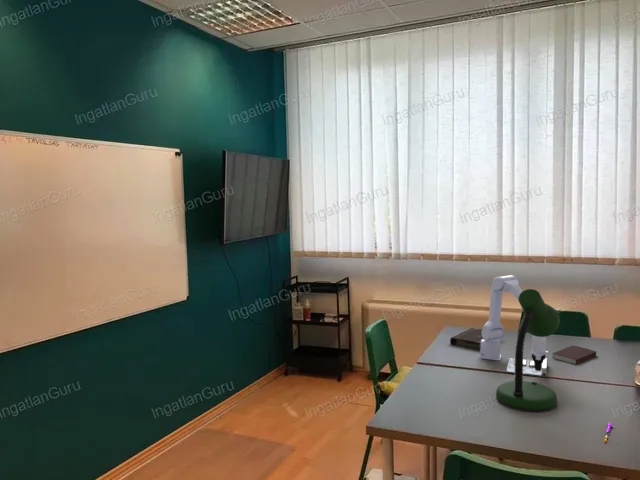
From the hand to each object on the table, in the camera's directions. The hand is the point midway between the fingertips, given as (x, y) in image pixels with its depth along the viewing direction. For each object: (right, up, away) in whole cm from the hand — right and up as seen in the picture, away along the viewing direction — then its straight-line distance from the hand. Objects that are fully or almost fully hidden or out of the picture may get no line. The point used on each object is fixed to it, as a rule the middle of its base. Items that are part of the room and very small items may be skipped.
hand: (538, 370), depth 232 cm
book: (+28, 0, +24) cm, 37 cm away
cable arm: (+6, 0, +6) cm, 8 cm away
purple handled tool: (+2, -9, -55) cm, 55 cm away
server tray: (-1, -2, +10) cm, 10 cm away
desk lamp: (-13, -5, -22) cm, 26 cm away
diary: (-12, +2, +52) cm, 54 cm away
